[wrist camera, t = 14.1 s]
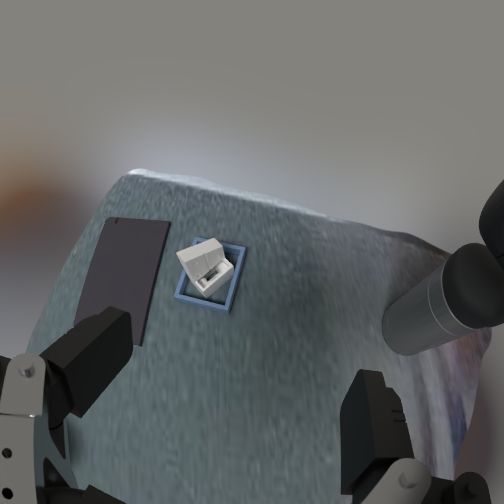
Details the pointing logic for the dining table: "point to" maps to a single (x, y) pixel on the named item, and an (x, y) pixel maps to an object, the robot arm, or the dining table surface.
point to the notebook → (124, 270)
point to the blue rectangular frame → (226, 309)
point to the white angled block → (206, 265)
